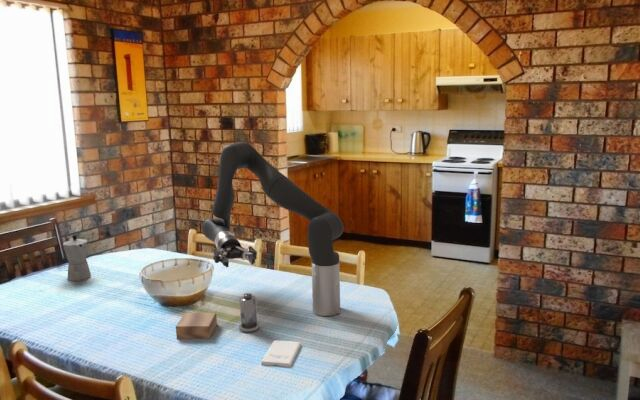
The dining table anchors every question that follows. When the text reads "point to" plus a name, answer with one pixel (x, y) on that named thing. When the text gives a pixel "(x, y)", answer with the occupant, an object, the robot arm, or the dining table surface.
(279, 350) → the external hard drive
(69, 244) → the coffeepot
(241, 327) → the cylinder
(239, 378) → the dining table surface
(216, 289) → the dining table surface
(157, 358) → the dining table surface
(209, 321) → the stand
